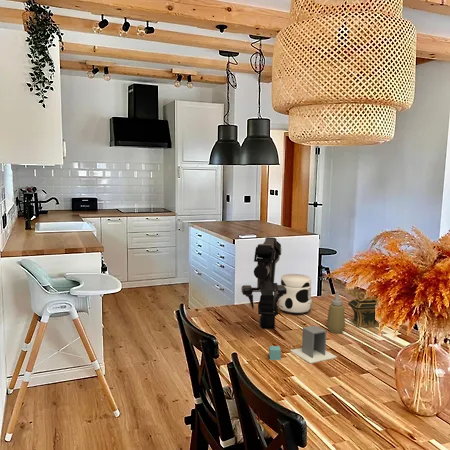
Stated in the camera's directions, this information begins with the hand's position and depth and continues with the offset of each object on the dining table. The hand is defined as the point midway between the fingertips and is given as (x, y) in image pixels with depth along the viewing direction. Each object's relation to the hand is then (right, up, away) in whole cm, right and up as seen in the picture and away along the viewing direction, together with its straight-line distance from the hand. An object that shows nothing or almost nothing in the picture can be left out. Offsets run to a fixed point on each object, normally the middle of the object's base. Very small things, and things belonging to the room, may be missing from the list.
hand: (263, 309), depth 187 cm
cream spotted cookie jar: (+20, -9, +40) cm, 45 cm away
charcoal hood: (+19, -15, -15) cm, 28 cm away
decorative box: (+50, -12, +21) cm, 55 cm away
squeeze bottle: (+34, -13, +11) cm, 38 cm away
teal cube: (+3, -16, -18) cm, 24 cm away
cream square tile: (+19, -15, -14) cm, 28 cm away
